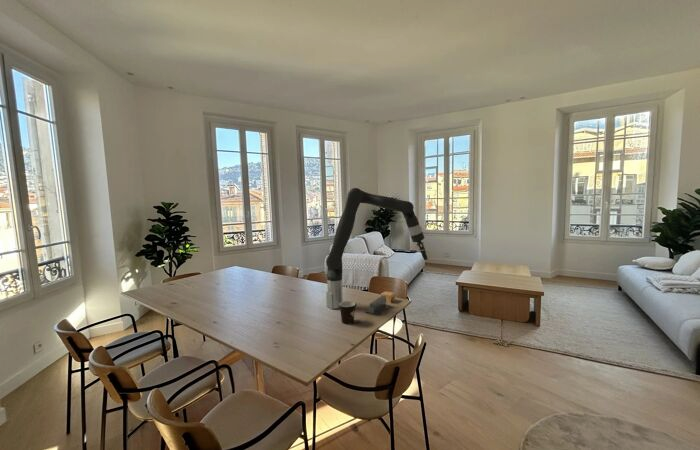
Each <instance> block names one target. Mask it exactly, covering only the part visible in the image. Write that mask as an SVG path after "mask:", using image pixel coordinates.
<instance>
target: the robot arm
mask: <svg viewBox="0 0 700 450" xmlns="http://www.w3.org/2000/svg"><path fill="white" fill-rule="evenodd" d="M360 204H367V205H371V206H374V207H375V206H376V207H378V208H383V209H387V210H392V211H397V212H400V213H402V215H403V217H404V220H405V223H406V225H407V230H408V232H409V236H410V238H411V240H412V241H411V242H412V243H416V247H417V249H418V250H419V252H420V253H421V256H422V258H423V260H424V261H426V260H428V259H429V258H428V256H427V251H426V248H425V244H424V242H423V240H424V239H425V235H424V233H423V232H424V231H423V230H422V227H421V225H420V222H419V219H418V218H417V216H416V213H415V211H414V209H415V207H414V204H413V202H411V201H408V200H403V199H397V198H393V197H391V196H386V195H385V196H384V195H380V194H373V193H369V192H366V191H363V190H361V189H360V188H358V187H353V188H350V190H348V193H347V197H346V203H345V207H344V210H343V211H342V213H341V216H340V218H339V221H338V223H337V227H336V228H335V229H336V230H335V232H334V233H335V234H334V239H333V242H332V243H333V244H332V246H331V250H330V252H329V254H328V256H327V258H326V260H325V261H326V262H325V263H326V267H327V274H326V275H327V276H326V280H327V281H326V283H327V285H326V286H327V290H326V291H325V292H326V293H325V294H326V307H327V308H329V309H330V310H337V309H340V305H339V304H340V303H341V302H344V299H343V295H344V294H343V260H342V259H343V254H344V251H345V250H346V246H347V244H348V242H349V240H350V237H351V236H352V233H353V229H354V226H355V221H356V214H357V212H358V209H359V207H360Z"/></svg>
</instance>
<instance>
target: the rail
mask: <svg viewBox="0 0 700 450" xmlns="http://www.w3.org/2000/svg"><path fill="white" fill-rule="evenodd" d="M391 307H392V305H390V304H387V302H386V296H381V295H380V297H379V298H377V299H375V300H374V301H372V302H370V303H369V308H368V309H367V310H365V311H364V313H365V314H368V315H375V316H381V315H382V314H383V313H385V312H386V311H387V310H389V309H390V308H391Z"/></svg>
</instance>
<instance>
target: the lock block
mask: <svg viewBox="0 0 700 450" xmlns="http://www.w3.org/2000/svg"><path fill="white" fill-rule="evenodd" d="M395 294H396V293H395V292H391V291H383V292H382V293H380V297H381V296H386V304H391V303H392V301H393V302H395V300H396V299H395V296H396V295H395Z"/></svg>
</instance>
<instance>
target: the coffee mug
mask: <svg viewBox="0 0 700 450" xmlns="http://www.w3.org/2000/svg"><path fill="white" fill-rule="evenodd" d="M339 305H340V308H339V311H340V316H341V323H342V324H343V325H351V324H353V323H354V322H355V313H356V312H355V311H356V309H357V303H356V302H354V301H350V300H348V301H347V300H346V301H345V300H344V301H343V302H341V303H340V304H339Z"/></svg>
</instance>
